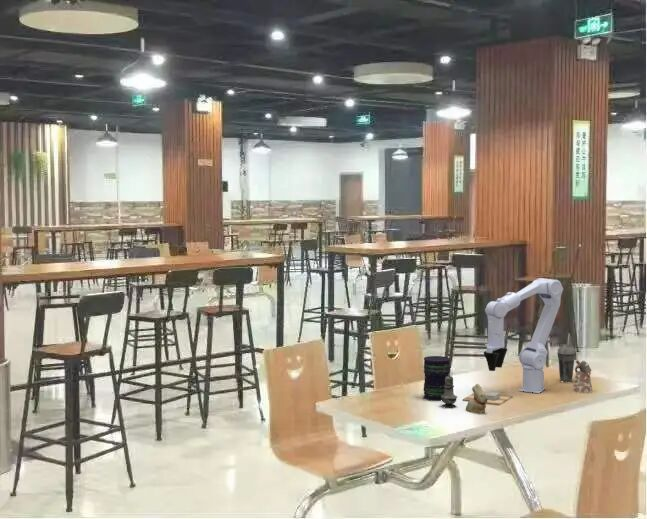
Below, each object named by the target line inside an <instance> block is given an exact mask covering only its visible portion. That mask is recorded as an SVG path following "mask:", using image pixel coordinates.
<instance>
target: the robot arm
mask: <svg viewBox="0 0 647 519" xmlns="http://www.w3.org/2000/svg"><path fill="white" fill-rule="evenodd" d="M563 291H564V287H563V285H562V283H561V281H560V280H558V279H551V278H550V279H549V278H543V277H538V278H537V279H535V280H533V281H532V283H530V284H528V285H527V286H525V287H523V288H522V289H521V290H519V291H517V292H513V291H512V292H510V291H508V292H506V293H505V295H503V296H502V297H499V298H497V299H496V301H495V300H494V301H493V300H492V301H489V302H488V303H487V305H486V308H484V312H485V314H486V316H487V322H488V324H487V343H485V344H484V346H485V347H486V350H485V351H483V356H484V357H485V359H486V362H487V368H488V371H489V372H495V371H496V369H497V368H500V369H501V368H502V367H503V363H504V359H505V356H506V354H507V352H508V348H505V341H504V336H505V335H504V326H505V325H504V321H505V319H504V318H505V317H506V316H507V314H508V312H510V311H511V310H513V309H515V308H517V307H519V306H520V305H521V301H522V302H523V301H524V300H526V299H527V298H530V297H532V296H534V295H536V294H537V295H538V296H539V297H540V299H542V302H543V303H544V306H543V308H542V311H541V314H540V316H539V319H538V321H537V324H536V327H535V330H534V332H533V333H532V334H533V335H532V337H531V339H530V341H529V342H527V343H526V344H525V345H524V347H523V349H522V350H521V351H520V353H519V355H518V360H519V362H520V364H521V367H522V388H520V389H519V390H518V391H519V392H523V391H524V393H532V392H533V393H534V394H540V392H541V393H542V392H544V391H545V390H546V389H547V387H545V386H544V385H545V372H544V370H543V369H544V367H545V366H546V364H547V355H548V354H549V353H548V350H547V349H546V343H547V341H548V338H549V336H550V334H551V332H552V328H553V325H554V323H555V320H556V317H557V315H558V312H559V310H560V306H561V301H562V300H561V299H562V298H561V296H562V294H563ZM544 389H545V390H544ZM543 390H544V391H543Z"/></svg>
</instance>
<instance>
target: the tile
mask: <svg viewBox="0 0 647 519" xmlns="http://www.w3.org/2000/svg"><path fill="white" fill-rule="evenodd" d="M483 392H484V393H486V395H487V398H488V400H496V399H498V398H500V394H501V392H496V391H490V390H489V391H488V390H483Z"/></svg>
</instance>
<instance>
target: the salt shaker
mask: <svg viewBox="0 0 647 519" xmlns="http://www.w3.org/2000/svg"><path fill="white" fill-rule="evenodd" d="M444 387H445V393H444V395H442V396H441V398H442V401H441V402H442V403H443V404H441V408H444V407H445V409H456V408H457V405H455V403H456V402H457V398H458V396H457V395H455V394H454V387H455V385H454V378H453V376H452V375H451V373H450V374H448V376H446V377H445V385H444Z"/></svg>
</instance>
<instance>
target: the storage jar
mask: <svg viewBox="0 0 647 519" xmlns="http://www.w3.org/2000/svg"><path fill="white" fill-rule="evenodd" d="M423 361H424V362H423V374H424V382H423V399H424V400H426V401H431V400H432V402H442V401H441V400H442V398H441V396H442V395H444V393H445V387H444V385H445V377H446V376H448V374H450V375H451V358H450V357H448V356H442V355H429V356H428V355H427V356H426V357H423Z"/></svg>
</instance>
